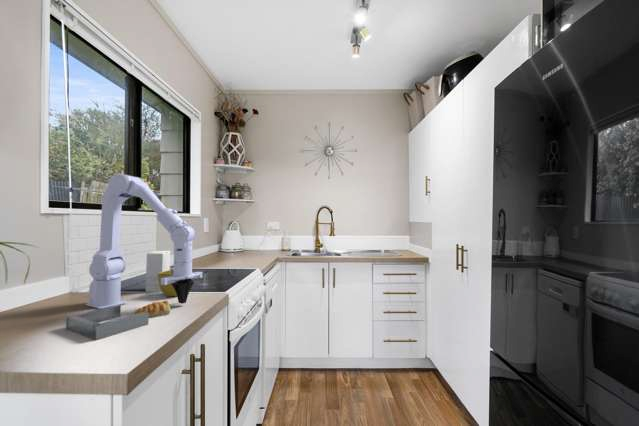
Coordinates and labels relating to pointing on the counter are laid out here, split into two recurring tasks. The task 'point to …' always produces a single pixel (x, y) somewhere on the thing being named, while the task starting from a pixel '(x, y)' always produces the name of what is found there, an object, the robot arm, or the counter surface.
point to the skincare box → (156, 269)
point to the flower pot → (168, 288)
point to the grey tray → (92, 329)
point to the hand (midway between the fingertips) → (182, 302)
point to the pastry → (155, 309)
